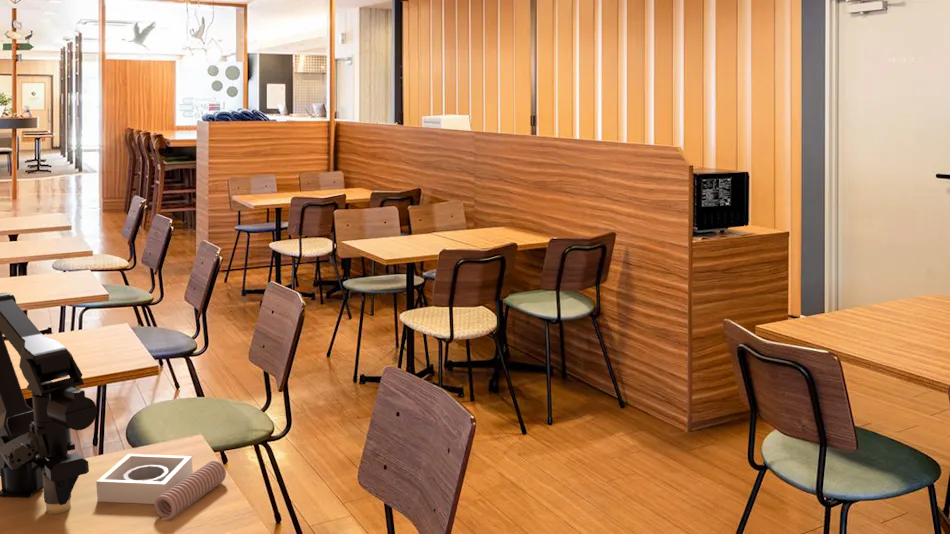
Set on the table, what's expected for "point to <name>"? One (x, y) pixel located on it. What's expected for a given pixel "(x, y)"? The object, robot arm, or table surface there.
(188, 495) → the coil
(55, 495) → the plug
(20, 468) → the robot arm
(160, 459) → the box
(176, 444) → the table surface
